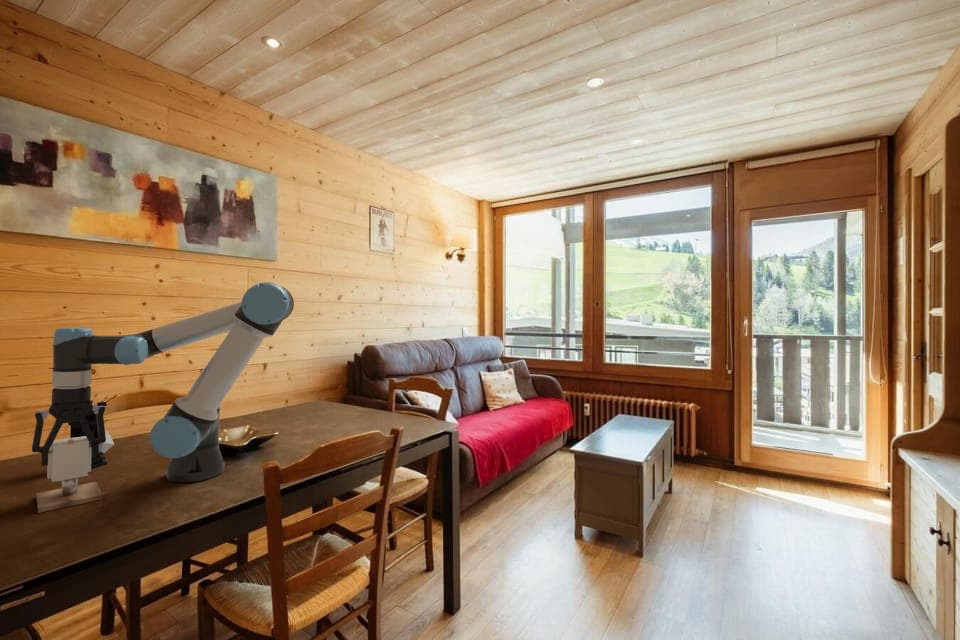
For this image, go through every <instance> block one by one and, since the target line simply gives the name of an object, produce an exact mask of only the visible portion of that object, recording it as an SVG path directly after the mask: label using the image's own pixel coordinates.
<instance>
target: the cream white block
mask: <svg viewBox="0 0 960 640" xmlns="http://www.w3.org/2000/svg"><path fill="white" fill-rule="evenodd" d="M51 450H52V478H51V483H53V482H54V483H55V482H60V481H61V482H62V480H66V479H72V478H83V477H87V476H89V472H88V458H89V441H88V439H87V437H86V436H83V437H75V438H70V437H69V438H68V437H67V438H61V439H55V440H54V442H53V444H52V446H51V448H50V451H51Z"/></svg>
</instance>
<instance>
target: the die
mask: <svg viewBox="0 0 960 640" xmlns="http://www.w3.org/2000/svg"><path fill="white" fill-rule="evenodd" d="M105 436H106V441H105V442H104V443H101V444H99V452H103V455H104V454H105V453H106V452H107V451H108V450H110V449H111V448H112V447H113V446H115V442H114V440H113V438H112V436H111V435H110V432H109V431H108V430H105Z"/></svg>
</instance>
